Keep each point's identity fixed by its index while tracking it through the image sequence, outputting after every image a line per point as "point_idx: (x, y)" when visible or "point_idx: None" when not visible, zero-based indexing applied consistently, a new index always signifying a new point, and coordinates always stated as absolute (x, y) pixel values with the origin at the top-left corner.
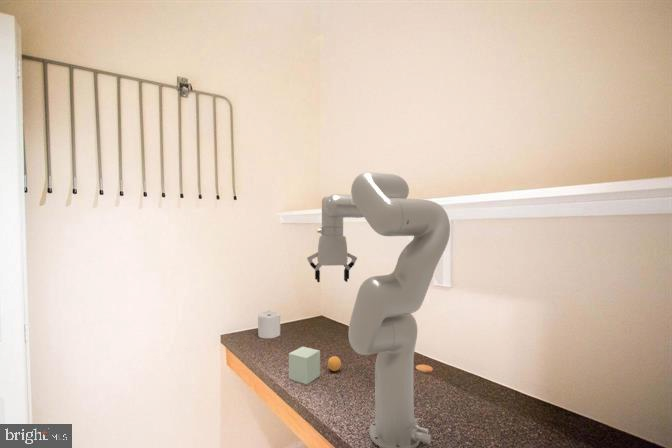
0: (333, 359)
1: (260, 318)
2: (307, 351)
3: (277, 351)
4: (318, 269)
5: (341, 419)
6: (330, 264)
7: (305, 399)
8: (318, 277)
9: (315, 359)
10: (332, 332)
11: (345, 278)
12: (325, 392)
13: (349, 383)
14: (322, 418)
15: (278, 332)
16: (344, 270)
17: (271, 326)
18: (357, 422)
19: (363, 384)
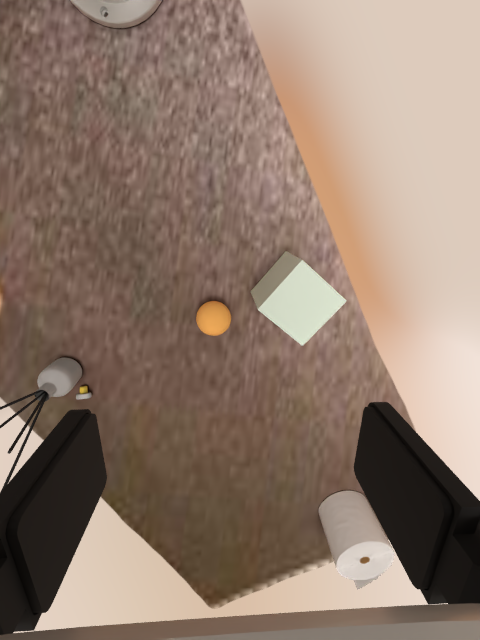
0: (216, 314)
1: (387, 542)
2: (293, 307)
3: (333, 424)
4: (474, 550)
5: (227, 65)
6: (334, 635)
7: (297, 179)
8: (406, 433)
9: (270, 287)
10: (194, 513)
11: (78, 433)
12: (248, 205)
13: (185, 241)
14: (269, 80)
15: (326, 509)
16: (43, 582)
17: (351, 518)
18: (191, 42)
19: (152, 230)
